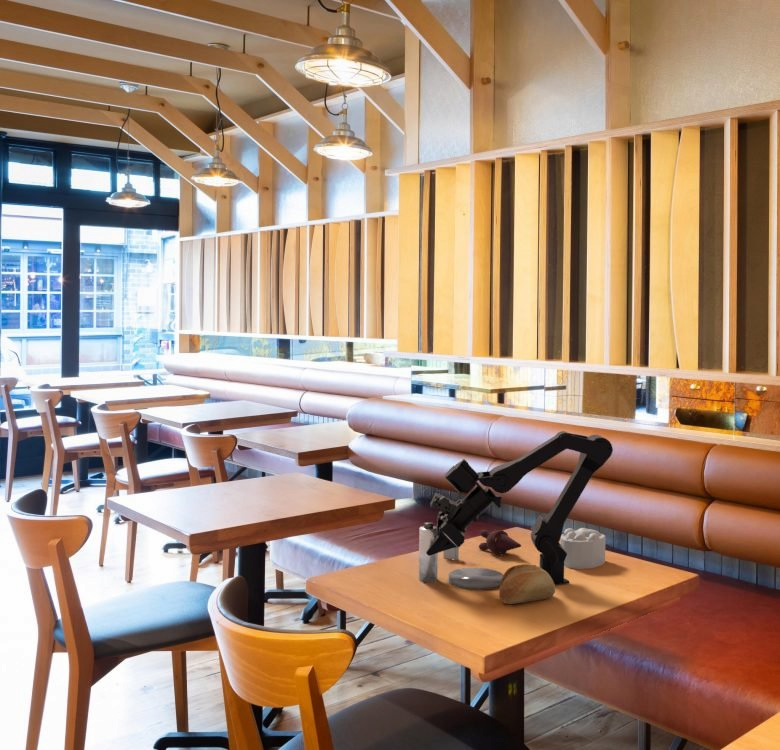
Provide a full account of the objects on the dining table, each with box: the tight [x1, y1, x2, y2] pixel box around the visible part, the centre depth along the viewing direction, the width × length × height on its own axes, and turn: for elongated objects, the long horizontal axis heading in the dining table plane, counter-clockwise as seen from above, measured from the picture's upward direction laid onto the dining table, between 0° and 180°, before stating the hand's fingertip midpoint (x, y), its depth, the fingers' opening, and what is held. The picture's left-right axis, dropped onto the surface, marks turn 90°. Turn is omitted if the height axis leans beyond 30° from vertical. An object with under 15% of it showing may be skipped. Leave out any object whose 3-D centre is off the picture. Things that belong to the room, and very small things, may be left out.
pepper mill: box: [418, 521, 439, 583], centre depth 203 cm, size 5×5×14 cm
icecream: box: [478, 529, 522, 556], centre depth 226 cm, size 7×7×15 cm
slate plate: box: [448, 567, 504, 591], centre depth 202 cm, size 14×14×1 cm
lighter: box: [442, 546, 460, 561], centre depth 222 cm, size 7×2×8 cm, turn 48°
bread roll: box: [498, 563, 556, 605], centre depth 188 cm, size 10×15×8 cm, turn 123°
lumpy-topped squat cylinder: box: [559, 527, 607, 570], centre depth 218 cm, size 10×13×9 cm
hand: (427, 549), depth 203 cm, fingers open, 9 cm apart
